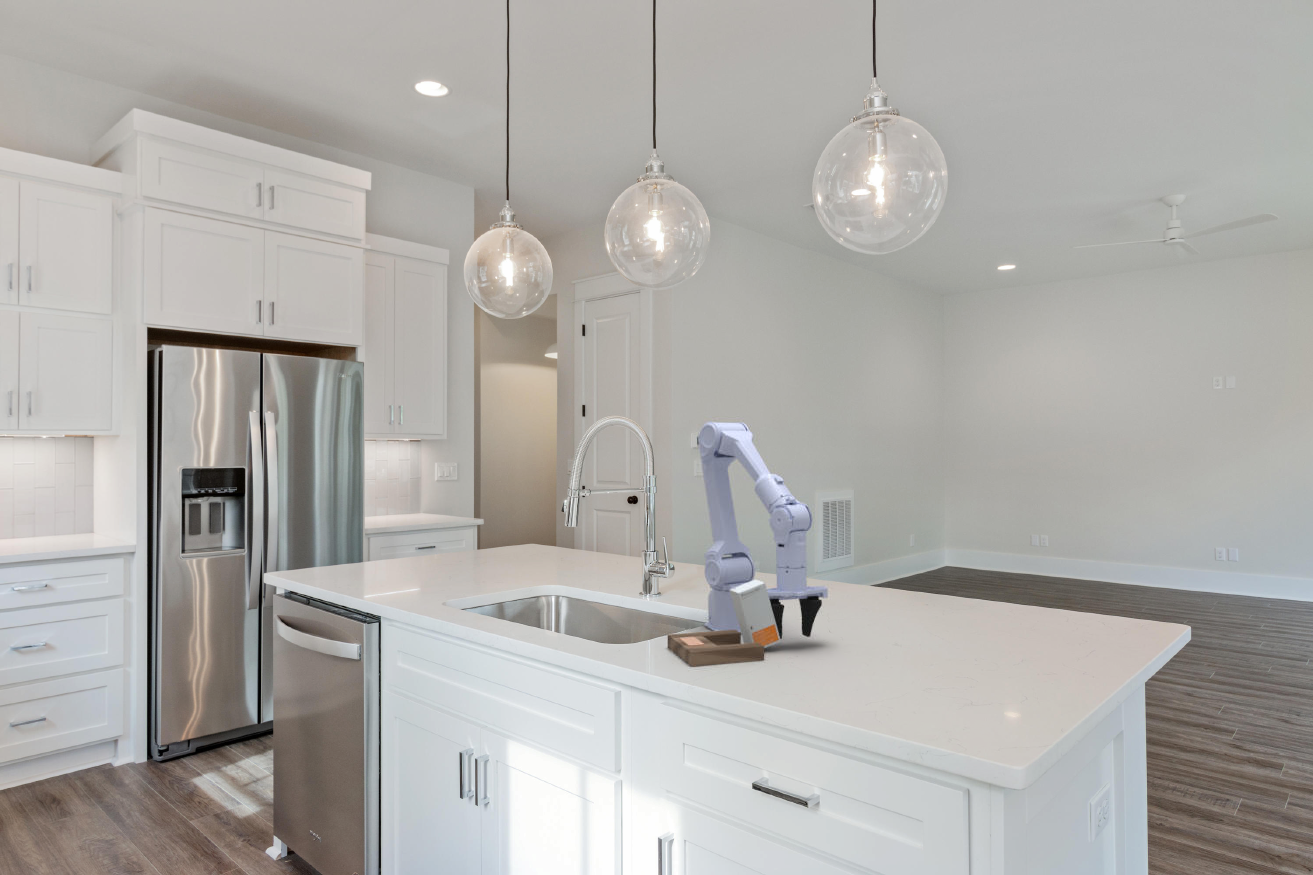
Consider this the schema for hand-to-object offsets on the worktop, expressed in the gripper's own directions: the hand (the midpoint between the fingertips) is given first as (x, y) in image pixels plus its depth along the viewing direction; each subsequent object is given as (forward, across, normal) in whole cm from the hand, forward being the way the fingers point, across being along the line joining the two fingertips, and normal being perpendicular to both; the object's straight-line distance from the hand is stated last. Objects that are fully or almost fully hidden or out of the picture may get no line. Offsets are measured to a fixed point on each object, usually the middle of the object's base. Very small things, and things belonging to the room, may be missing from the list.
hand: (792, 636), depth 151 cm
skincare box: (+1, -6, 0) cm, 6 cm away
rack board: (+2, -16, 0) cm, 16 cm away
